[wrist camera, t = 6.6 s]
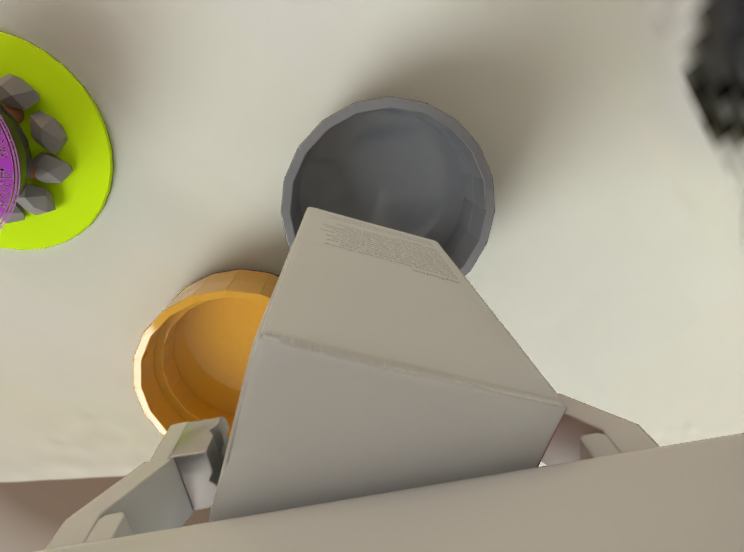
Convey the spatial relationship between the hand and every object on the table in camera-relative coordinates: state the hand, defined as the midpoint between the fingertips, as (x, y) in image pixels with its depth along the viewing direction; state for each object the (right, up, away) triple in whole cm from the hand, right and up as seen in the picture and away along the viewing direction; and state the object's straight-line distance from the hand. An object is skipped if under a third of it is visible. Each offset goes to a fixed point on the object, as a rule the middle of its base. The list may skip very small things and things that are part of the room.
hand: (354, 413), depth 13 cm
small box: (0, +3, +8) cm, 9 cm away
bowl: (-10, -2, +25) cm, 27 cm away
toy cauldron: (-26, +13, +19) cm, 34 cm away
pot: (+1, +10, +21) cm, 23 cm away
